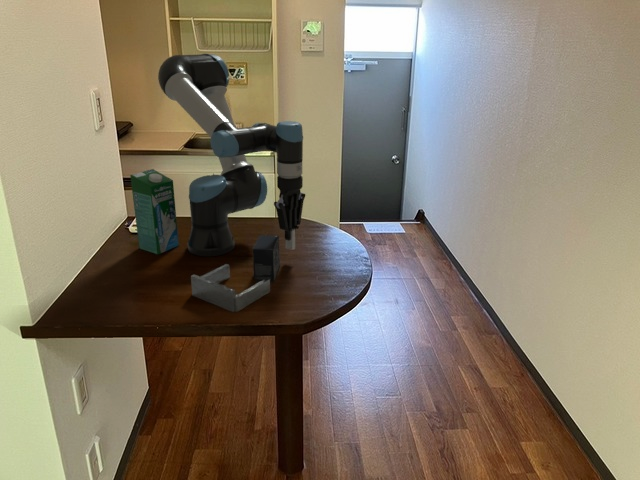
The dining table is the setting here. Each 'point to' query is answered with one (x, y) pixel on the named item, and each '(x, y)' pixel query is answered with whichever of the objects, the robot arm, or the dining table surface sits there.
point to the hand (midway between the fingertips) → (290, 248)
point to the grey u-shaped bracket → (226, 290)
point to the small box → (266, 257)
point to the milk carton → (154, 211)
